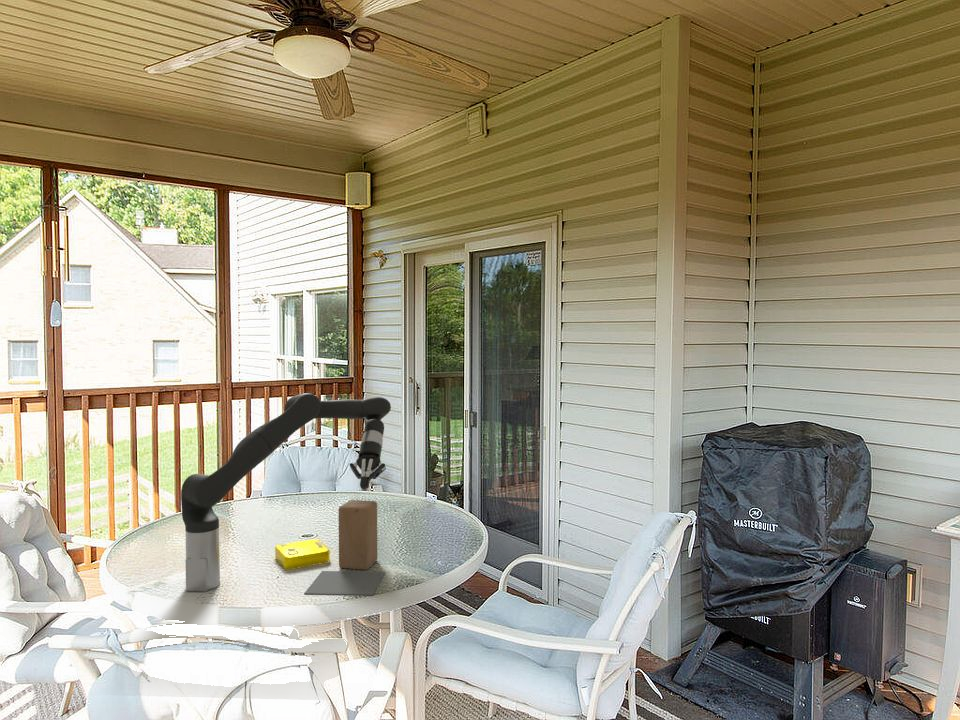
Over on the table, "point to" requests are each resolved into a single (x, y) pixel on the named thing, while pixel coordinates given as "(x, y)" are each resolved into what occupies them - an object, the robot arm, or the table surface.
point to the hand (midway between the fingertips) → (363, 488)
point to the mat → (345, 583)
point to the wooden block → (357, 534)
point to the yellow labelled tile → (302, 553)
